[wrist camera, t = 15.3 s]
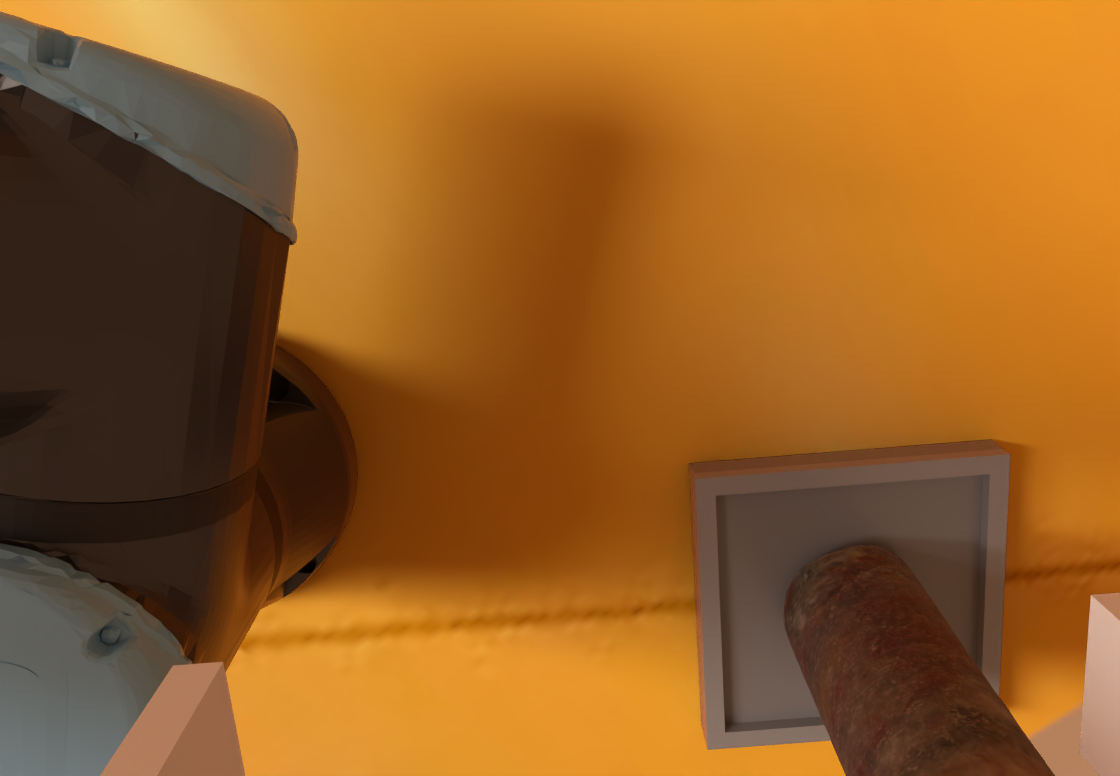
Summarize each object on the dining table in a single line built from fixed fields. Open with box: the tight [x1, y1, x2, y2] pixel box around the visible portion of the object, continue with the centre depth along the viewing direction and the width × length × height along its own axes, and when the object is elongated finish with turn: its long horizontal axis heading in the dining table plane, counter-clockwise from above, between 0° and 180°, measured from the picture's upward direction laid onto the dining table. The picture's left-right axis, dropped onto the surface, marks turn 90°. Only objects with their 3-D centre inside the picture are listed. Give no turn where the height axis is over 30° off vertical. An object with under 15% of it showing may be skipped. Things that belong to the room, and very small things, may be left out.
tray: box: [689, 440, 1010, 750], centre depth 54 cm, size 16×16×2 cm
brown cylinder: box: [783, 545, 1055, 776], centre depth 44 cm, size 8×7×20 cm
